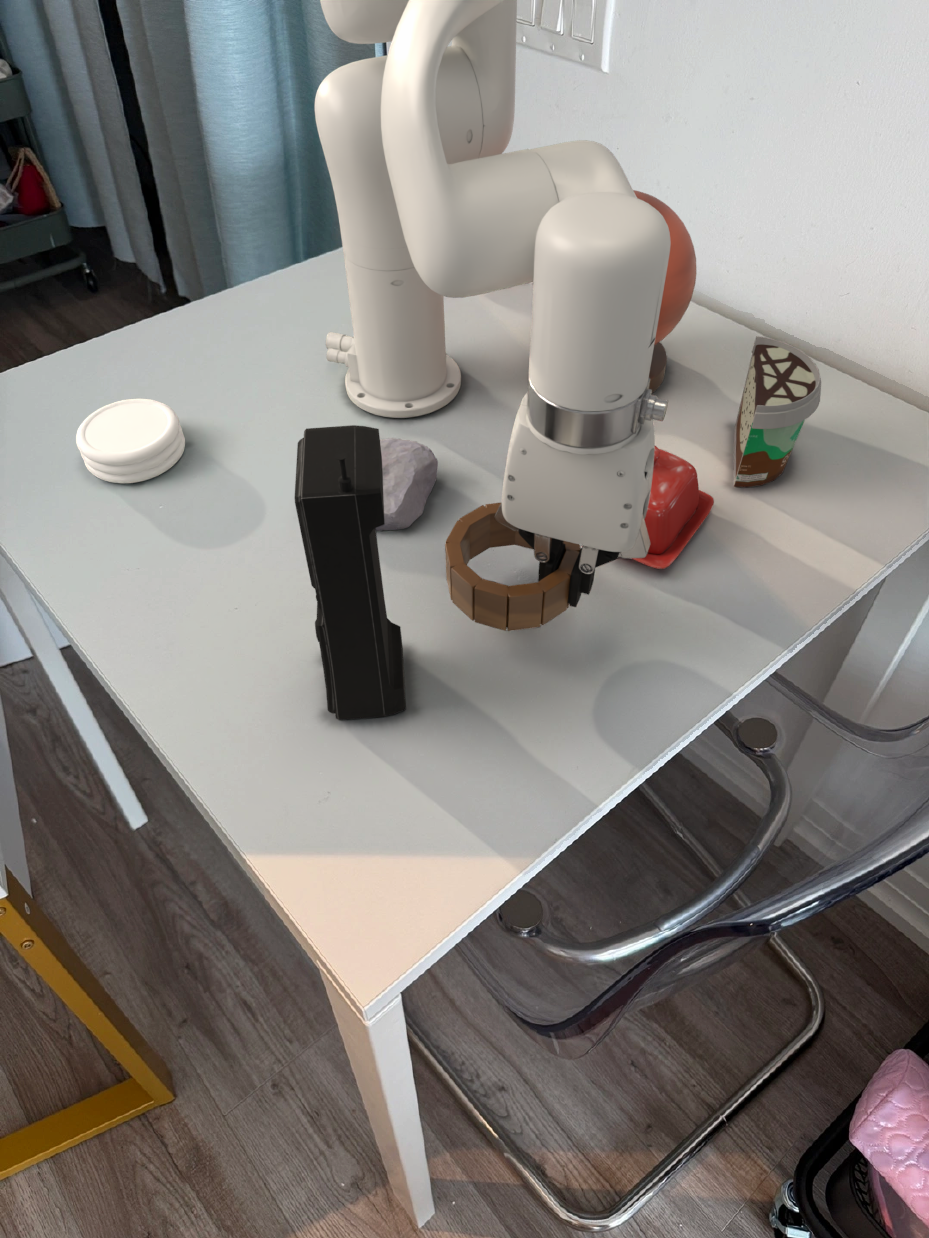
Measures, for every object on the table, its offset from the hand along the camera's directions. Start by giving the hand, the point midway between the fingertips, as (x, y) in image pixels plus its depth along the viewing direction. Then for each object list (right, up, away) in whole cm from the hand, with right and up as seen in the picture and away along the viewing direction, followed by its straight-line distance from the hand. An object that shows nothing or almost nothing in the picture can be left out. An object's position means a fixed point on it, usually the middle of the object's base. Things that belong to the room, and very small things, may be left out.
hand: (564, 589), depth 73 cm
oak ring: (-4, +1, +2) cm, 5 cm away
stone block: (-17, +9, +15) cm, 25 cm away
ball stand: (+8, +25, +28) cm, 38 cm away
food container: (+22, +13, +17) cm, 31 cm away
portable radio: (-16, -7, 0) cm, 17 cm away
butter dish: (+8, +7, +12) cm, 16 cm away
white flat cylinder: (-41, +14, +20) cm, 48 cm away
